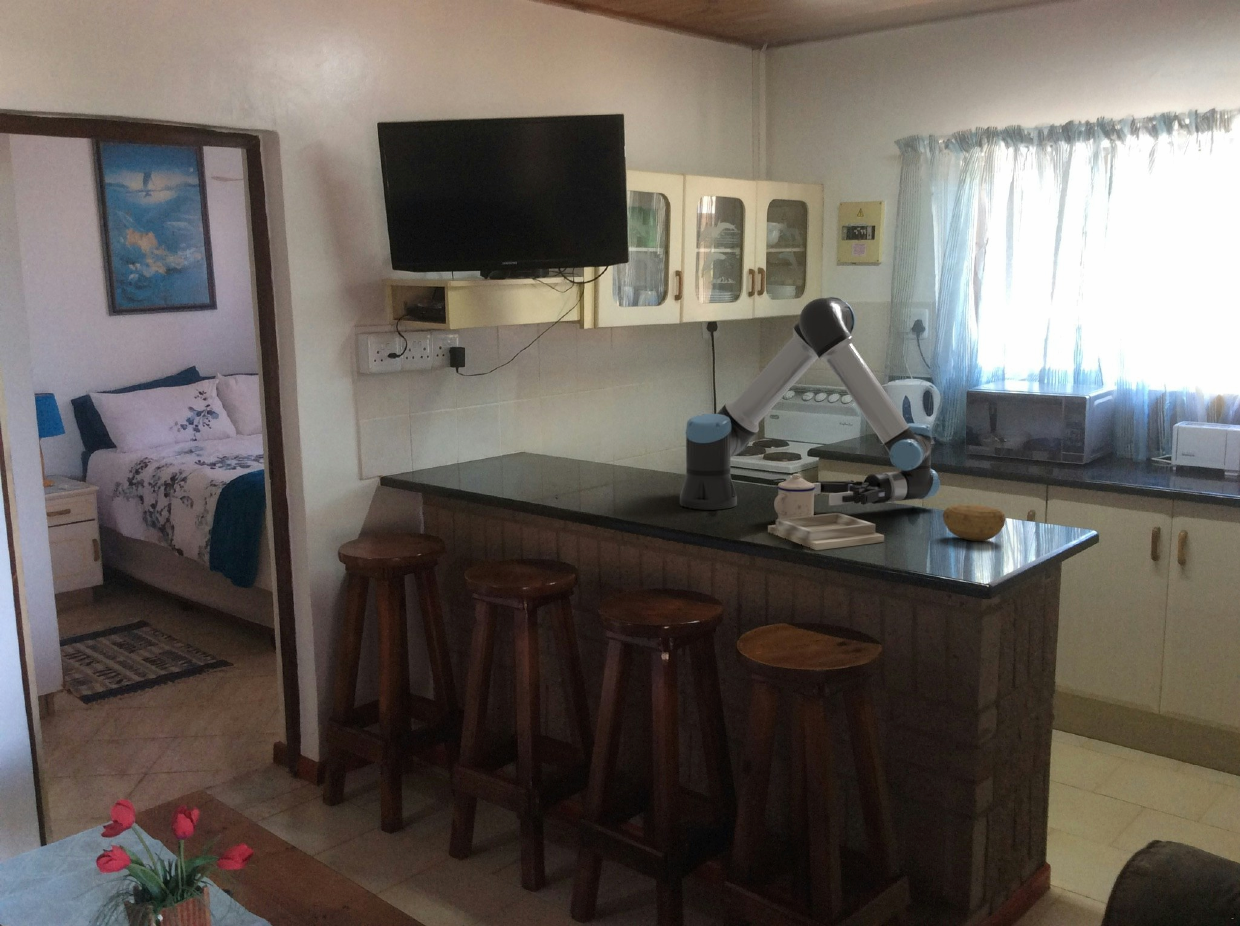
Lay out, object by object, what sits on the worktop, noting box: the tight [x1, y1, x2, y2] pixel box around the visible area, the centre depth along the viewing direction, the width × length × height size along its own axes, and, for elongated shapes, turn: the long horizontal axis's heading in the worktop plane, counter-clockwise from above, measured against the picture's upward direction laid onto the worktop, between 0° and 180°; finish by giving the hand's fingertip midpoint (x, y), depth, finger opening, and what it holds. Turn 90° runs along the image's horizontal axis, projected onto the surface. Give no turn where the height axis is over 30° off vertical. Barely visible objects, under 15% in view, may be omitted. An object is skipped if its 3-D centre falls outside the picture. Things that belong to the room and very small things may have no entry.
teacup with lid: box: [773, 473, 815, 519], centre depth 263 cm, size 12×9×12 cm
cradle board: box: [767, 512, 885, 551], centre depth 248 cm, size 20×18×4 cm
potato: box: [942, 504, 1006, 542], centre depth 243 cm, size 10×14×8 cm
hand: (813, 494), depth 265 cm, fingers open, 13 cm apart
